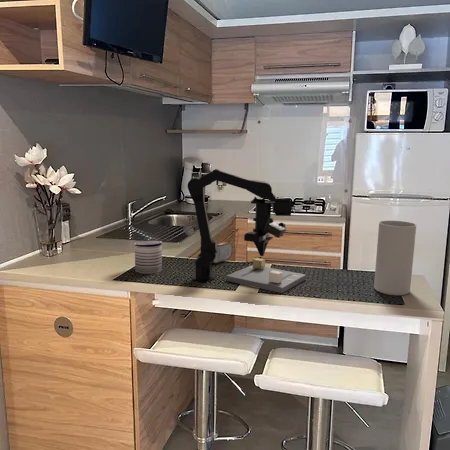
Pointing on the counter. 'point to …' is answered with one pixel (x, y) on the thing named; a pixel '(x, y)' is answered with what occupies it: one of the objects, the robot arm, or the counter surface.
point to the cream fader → (275, 276)
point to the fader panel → (265, 278)
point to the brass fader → (258, 263)
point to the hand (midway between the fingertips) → (261, 255)
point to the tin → (223, 252)
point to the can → (148, 257)
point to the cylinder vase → (394, 257)
